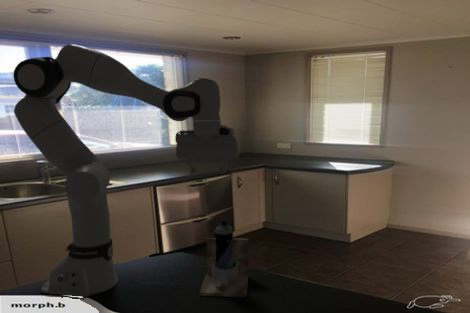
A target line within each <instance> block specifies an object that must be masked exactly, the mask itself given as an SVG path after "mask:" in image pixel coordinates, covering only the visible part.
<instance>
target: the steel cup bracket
mask: <svg viewBox="0 0 470 313" xmlns="http://www.w3.org/2000/svg"><path fill="white" fill-rule="evenodd" d="M212 284H213V285H214V286H215V287H218V288H223V289H228V288H232V287H235V286H236V285H238V263H237V262H236V261H235V260H233V267H232V268H227V269H225V268H218V267H216V261H215V262H213V264H212Z"/></svg>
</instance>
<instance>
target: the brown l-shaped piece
mask: <svg viewBox="0 0 470 313" xmlns="http://www.w3.org/2000/svg"><path fill="white" fill-rule="evenodd" d="M205 251H206V252H205V254H206V255H205V257H206V258H205V261H206V262H205V263H206V264H205V265H206V274H205V277H204V279H203V282H202V285H201V286H200V290H199V293H198V295H199V297H200V296H203V297H227V298H228V297H229V298H231V297H232V298H247V294H248V285H249V274H250V273H249V238H237V237H236V238H234V237H233V260H235V261H236V262H237V263H238V285H236V286H235V287H232V288H228V289H223V288H218V287H215V286H214V285H213V284H212V264H213V262H215V261H216V245H215V237H206V238H205Z"/></svg>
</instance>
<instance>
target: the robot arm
mask: <svg viewBox="0 0 470 313" xmlns="http://www.w3.org/2000/svg"><path fill="white" fill-rule="evenodd" d="M13 82H14V83H15V84H14V85H16V87H17V88H18V90H19V91H21V92H22V93H24V94H25V95H24V97H22V98H21V99H20V100H19V101H17V103H16V104H15V106H14V108H13V109H14V110H13V111H14V115H15V118H16V119H17V121H18V123H19V125H20V127H21V128H22V130H23V131H24V133H25V135H27V137H28V138H29V139H30V140H31V142H32V143H33V144H34V145H35V147H36V148H37V149H38V150H39V152H40V153H41V154H42V155H43V156H44V158H45V159H46V160H47V161H48V162H49V163H50V164H51V165H53V166H54V167H55V168H57V169H58V171H60V172H61V173H62V174H63V175H64V176H65V177H66V179H65V184H64V190H65V194H66V197H67V204H68V208H69V213H70V218H71V227H72V243H70V244H68V246H66V247H65V248H64V249H65V252H67V251H68V254H67V255H66V256H65V257H63V258H62V259H60V261H59V262H58V263H57V264H55V265H54V266H53V268H52V269H51V271H50V273H49V279H48V280H47V281H46V282H44V284H43V285H42V287H41V290H40V291H41V292H43V293H42V294H45V293H50V294H49V295H52V294H61V295H72V296H83V297H85V298H86V297H89V296H92V295H96V294H100V293H103V292H105V291H108V290H110V289H112V288H113V287H115V286H116V285H117V283H118V282H119V279H118V276H117V273H116V269H115V266H114V261H113V260H114V259H113V256H114V247H113V246H114V245H113V239H112V237H111V235H112V234H111V218H110V215H111V214H110V212H109V205H108V204H109V203H108V198H107V197H108V196H107V189H108V186H109V185H110V181H111V174H110V172H109V169H108V168H107V167H106V166H105V165H104V163H103V162H102V161H101V160H100V159H99V158H98V157H97V156H96V154H94V153H93V151H92V150H91V149H90V148H89V147H88V146H87V145H86V144H85V143H84V142H83V140H81V138H80V137H79V136H78V135H77V133H76V132H75V131H74V130H73V128H72V126H71V125H70V124H69V123H68V121H67V120H66V119H65V118H64V116H63V115H62V114H61V113H60V112H59V110H58V108H57V105H56V104H59V103H60V101H61V100H62V99H63V97H65V95H67V92H68V91H69V90H70V88H71V85H72V83H76V84H79V85H82V86H85V87H87V88H88V89H89V88H90V89H91V90H92V89H93V91H94V90H95V91H97V92H101V93H104V94H108V95H109V94H110V95H115V96H120V97H121V96H122V97H128V98H132V99H135V100H138V101H141V102H143V103H146V104H148V105H149V106H150V105H151V106H153V107H156V108H157V109H159V110H161V111H162V112H163V113H164V114H165V116H167V117H168V118H169V119H171V121H175V122H183V121H186V120H187V119H189V118H192V126H193V128H192V129H193V130H191V129H190V130H189V129H188V130H179V131H178V132H177V133H176V134H175V136H174V137H175V143H176V145H175V146H176V147H175V157H176V158H177V159H178V160H186V162H187V165H188V167H189V168H190V173H191V174H195V173H197V167H196V166H194V165H193V163H192V162H193V160H222V163H223V165H222V166H220V167H219V174H225V173H226V170H225V169H226V167H227V165H228V162H229V160H236V159H238V157H240V156H239V155H240V154H239V152H240V150H239V143H238V142H239V141H238V139H237V138H236V137H235V136H234V135H235V132H236V131H235V128H233V127H229V126H227V125H222V124H221V116H220V111H221V94H220V92H221V91H220V88H219V84H218V83H217V82H216V81H215V80H212V79H209V78H203V77H196V78H195V79H194V80H193V81H191V82H189V83H188V84H186V85H183V86H181V87H177V88H174V89H171V90H165V89H163V88H160V87H158V86H156V85H154V84H151V83H149V82H146V81H145V80H143V79H141V78H139V77H138V76H137V75H136V74H135V73H134V72H132V70H130V69H129V68H128V66H126V65H125V64H124V63H122V62H121V61H119V60H117V59H116V58H113V56H110V55H108V54H105V53H103V52H101V51H98V50H96V49H94V48H90V47H87V46H82V45H79V44H74V43H68V44H66V45H64V46H62V48H61V49H60V50H59V52H58V54H57V56H56V57H55V58H53V57H52V56H39V57H32V58H27V59H24V60H22V61H20V62H19V63H18V64H17V65H16V67H15V68H14V70H13ZM41 292H40V293H41Z"/></svg>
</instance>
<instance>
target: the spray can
mask: <svg viewBox="0 0 470 313" xmlns="http://www.w3.org/2000/svg"><path fill="white" fill-rule="evenodd" d="M214 231H215V232H214V233H215V234H214V235H215V237H214V238H215V245H216V267H218V268H225V269H227V268H232V267H233V238H234V230H233V226H230V224H229V223H228V221H227V220H225V219H221V221H220V223H219V225H218V226H216V227H215V230H214Z"/></svg>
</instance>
